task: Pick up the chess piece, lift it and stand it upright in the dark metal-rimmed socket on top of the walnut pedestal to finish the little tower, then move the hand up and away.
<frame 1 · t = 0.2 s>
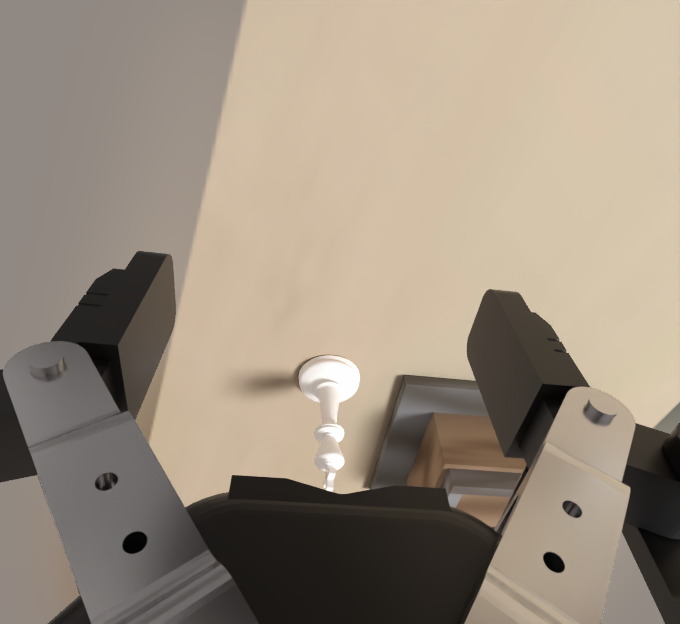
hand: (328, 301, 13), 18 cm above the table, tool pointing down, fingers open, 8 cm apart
pedestal: (470, 443, 45), on the table
chess piece: (329, 375, 39), on the table
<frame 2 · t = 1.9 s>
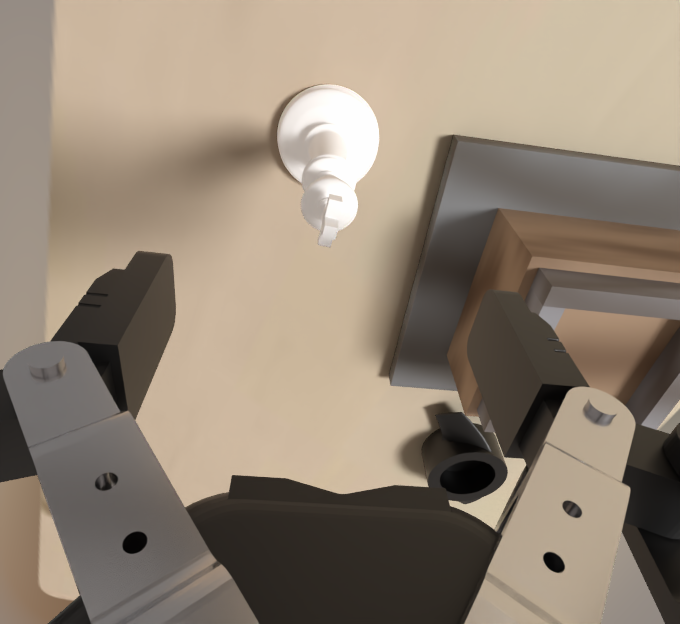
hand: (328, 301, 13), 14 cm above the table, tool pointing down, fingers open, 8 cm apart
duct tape: (457, 443, 38), on the table
pedestal: (546, 288, 29), on the table
chess piece: (328, 137, 24), on the table
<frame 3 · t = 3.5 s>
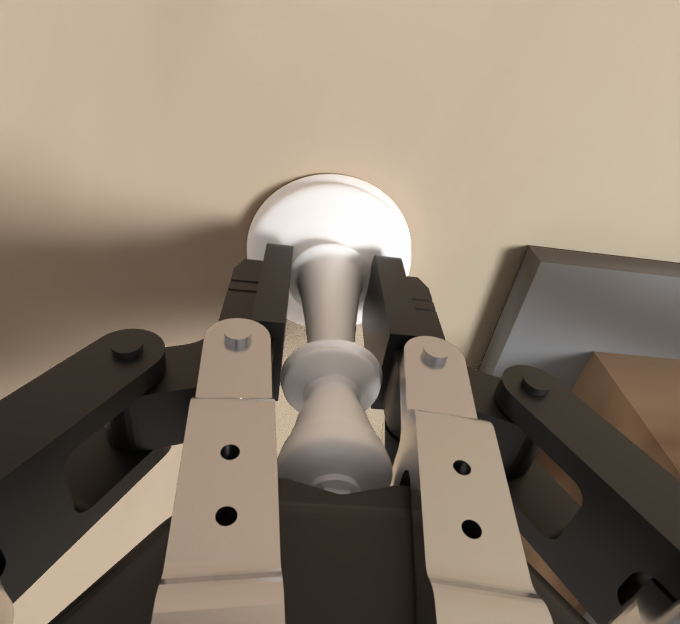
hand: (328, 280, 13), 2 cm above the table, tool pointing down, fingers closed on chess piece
pedestal: (642, 438, 20), on the table
chess piece: (329, 249, 15), on the table, touching gripper
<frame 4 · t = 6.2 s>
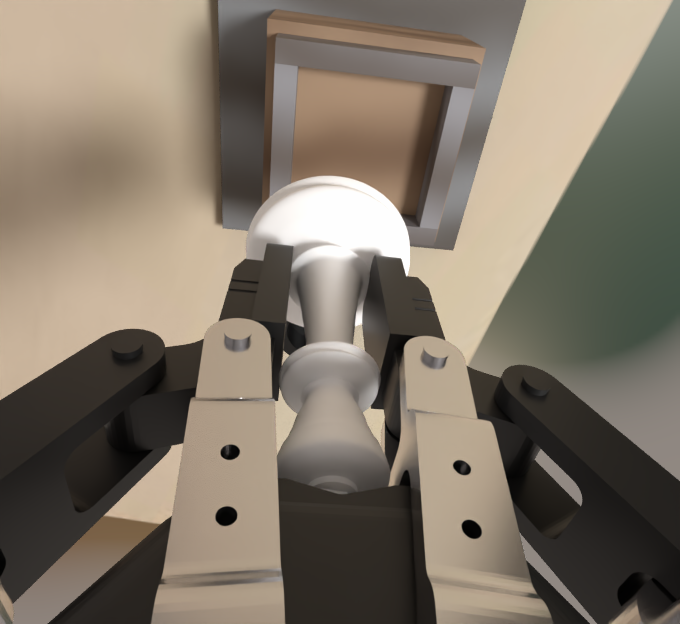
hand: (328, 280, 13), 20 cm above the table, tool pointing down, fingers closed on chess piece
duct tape: (314, 308, 39), on the table
pedestal: (356, 114, 30), on the table
chess piece: (328, 251, 15), point 18 cm above the table, touching gripper
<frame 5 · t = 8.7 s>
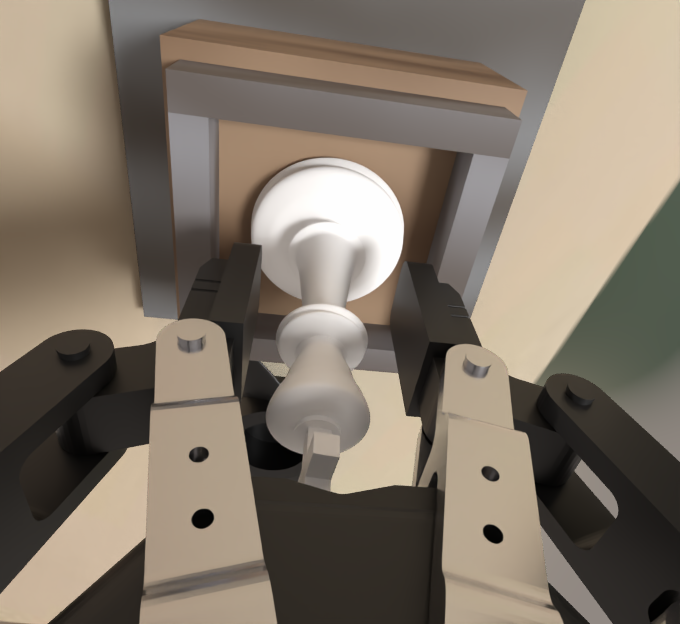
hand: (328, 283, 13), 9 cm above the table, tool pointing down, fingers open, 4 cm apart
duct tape: (276, 406, 30), on the table
pedestal: (326, 170, 21), on the table
chess piece: (327, 229, 16), point 6 cm above the table, touching pedestal
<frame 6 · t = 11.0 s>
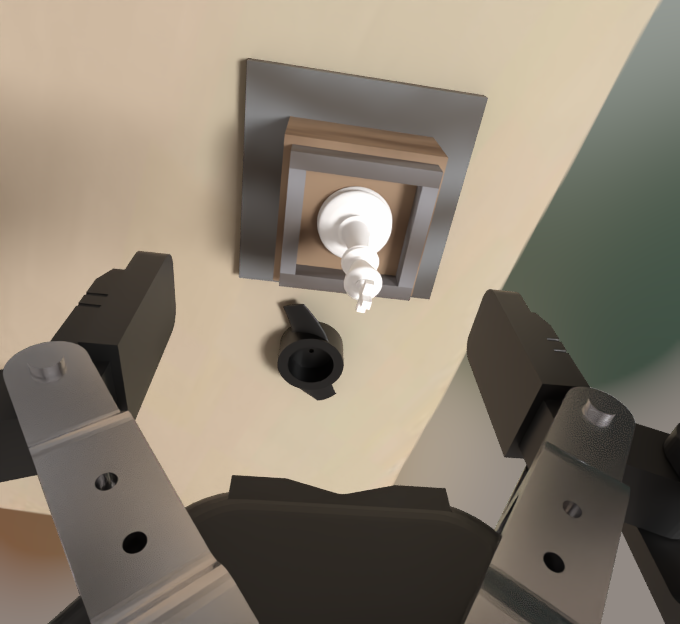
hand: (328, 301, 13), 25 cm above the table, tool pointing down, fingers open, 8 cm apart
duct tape: (311, 343, 45), on the table
pedestal: (350, 191, 37), on the table
chess piece: (354, 221, 32), point 6 cm above the table, touching pedestal
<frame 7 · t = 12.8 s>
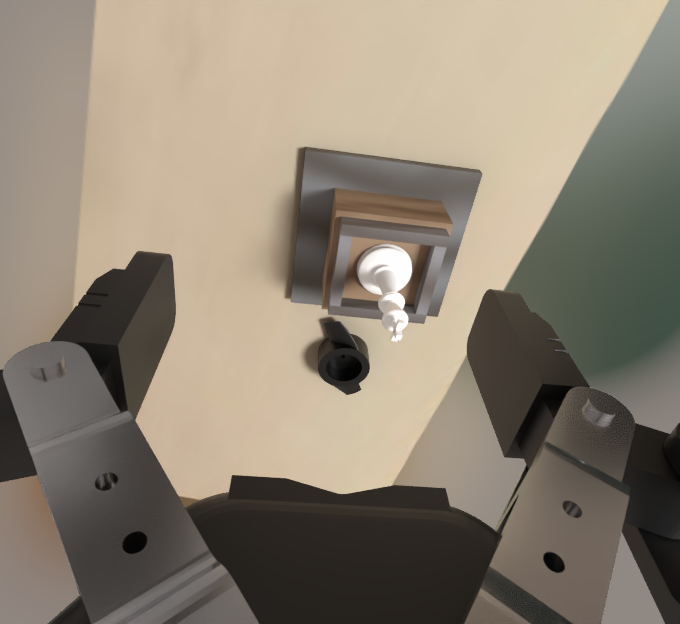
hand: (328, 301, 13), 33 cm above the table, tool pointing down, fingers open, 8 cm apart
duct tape: (343, 350, 57), on the table
pedestal: (378, 238, 48), on the table
chess piece: (383, 267, 43), point 6 cm above the table, touching pedestal
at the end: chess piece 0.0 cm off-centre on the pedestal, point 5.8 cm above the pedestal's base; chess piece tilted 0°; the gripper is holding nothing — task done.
